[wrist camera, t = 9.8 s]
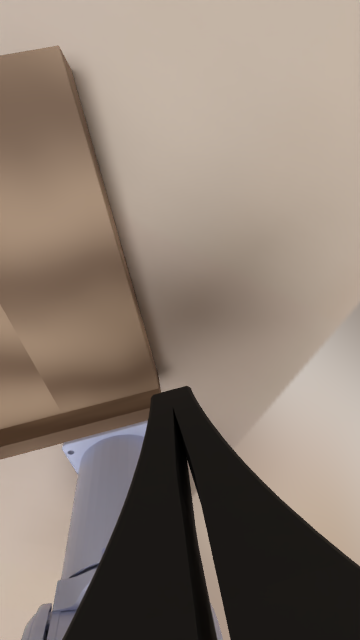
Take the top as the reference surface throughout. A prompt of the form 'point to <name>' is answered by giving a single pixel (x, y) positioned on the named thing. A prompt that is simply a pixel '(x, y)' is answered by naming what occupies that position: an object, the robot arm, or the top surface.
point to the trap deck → (61, 272)
